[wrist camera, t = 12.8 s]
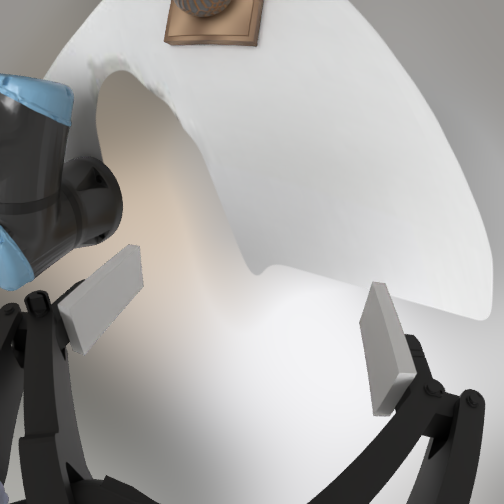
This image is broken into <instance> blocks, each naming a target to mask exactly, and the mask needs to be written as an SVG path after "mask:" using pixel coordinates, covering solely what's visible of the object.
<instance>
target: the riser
mask: <svg viewBox="0 0 504 504" xmlns="http://www.w3.org/2000/svg"><path fill="white" fill-rule="evenodd" d="M262 7H263V0H231V2H230V3H229V5H228V6H227V7H226V8H225V9H224V10H223V11H222V12H220V13H218V14H216V15H213V16H209V17H196V16H192V15H189V14H187V13H185V12H184V11H182V10H181V9H180V8H179V7H178V6H177V5H176V4H175V2H174V0H171V4H170V9H169V14H168V20H167V25H166V31H165V37H164V42H166V43H168V44H170V45H193V44H220V45H245V46H257V41H258V34H259V27H260V20H261V13H262Z"/></svg>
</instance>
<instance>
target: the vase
mask: <svg viewBox="0 0 504 504" xmlns="http://www.w3.org/2000/svg"><path fill="white" fill-rule="evenodd" d="M174 2H175V4H176V5H177V6H178V7H179V8H180V9H181V10H182V11H184V12H185V13H187V14H189V15H192V16H196V17H209V16H213V15H216V14H218V13H220V12H222V11H223V10H224V9H225V8H226V7H227V6H228V5H229V3H230V2H231V0H174Z"/></svg>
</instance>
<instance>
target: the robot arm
mask: <svg viewBox="0 0 504 504" xmlns="http://www.w3.org/2000/svg"><path fill="white" fill-rule="evenodd" d="M73 102H74V94H73V91H72V90H71V88H70V87H69V86H67V85H64V84H61V83H57V82H52V81H48V80H43V79H37V78H31V77H25V76H18V75H10V74H0V288H2V289H5V290H8V291H14V290H17V289H18V288H20V287H21V286H23V285H25V284H26V283H28V282H31V281H33V280H34V279H35V278H36V277H37V276H38V275H40V274H41V273H42V272H43V271H44V270H46V269H47V268H49V267H50V266H51V265H52V264H54V263H55V262H56V261H58V260H59V259H60V258H62V257H63V256H64V255H66V254H67V253H69V252H70V251H71V250H73V249H74V248H80V247H86V246H92V245H97V244H99V243H101V242H103V241H105V240H106V239H107V238H109V237H110V236H111V235H113V234H114V232H115V231H116V230H117V228H118V226H119V224H120V221H121V218H122V211H123V201H122V194H121V191H120V187H119V184H118V182H117V180H116V178H115V176H114V175H113V173H112V172H111V171H110V169H109V168H108V167H107V166H106V165H105V164H104V163H102V162H101V161H99V160H97V159H95V158H92V157H80V158H76V159H73V160H70V161H68V162H66V163H65V164H64V156H65V149H66V143H67V138H68V132H69V127H70V126H71V114H72V107H73ZM142 288H143V277H142V266H141V257H140V246H136V245H130V244H129V245H127V246H126V247H125V248H124V249H122V250H121V251H120V252H119V253H117V254H116V255H115V256H114V257H112V258H111V259H110V260H109V261H107V262H106V263H105V264H104V265H103V266H101V267H100V268H99V269H98V270H97V271H95V272H94V273H93V274H92V275H91V276H90V277H88V278H87V279H86V280H85V279H84V280H81V281H79V282H77V283H75V284H74V285H73V286H72V287H71V288H70V289H69V290H67V291H66V292H65V293H64V294H63V295H62V296H60V297H59V298H58V299H57V300H56V301H55V302H54V303H53V304H51V303H50V299H49V296H48V293H47V292H46V291H41V290H38V291H34V292H32V293H30V294H28V295H27V296H26V297H25V299H24V302H25V305H26V308H27V310H28V312H21V309H20V307H19V305H18V304H17V303H8V304H6V305H4V306H3V307H2V308H1V309H0V504H7V503H8V501H9V497H8V495H7V494H6V493H5V490H4V487H3V486H4V483H5V479H6V476H7V471H8V465H9V459H10V452H11V445H12V439H13V433H14V428H15V424H16V419H17V414H18V410H19V405H20V401H21V397H22V393H23V389H24V426H25V436H24V437H20V439H19V455H20V464H21V472H22V479H23V486H24V491H25V497H26V499H25V500H21V501H18V502H14V503H10V504H159V503H157V502H155V501H154V500H152V499H150V498H149V497H147V496H146V495H144V494H143V493H141V492H139V491H138V490H137V489H135V488H134V487H132V486H130V485H127V484H125V483H122V482H120V481H118V480H116V479H114V478H111V477H109V476H107V475H106V476H105V478H104V480H97V479H93V478H92V476H91V474H90V472H89V470H88V468H87V466H86V462H85V458H84V454H83V450H82V445H81V441H80V436H79V432H78V427H77V421H76V416H75V410H74V404H73V398H72V391H71V383H70V374H69V366H68V365H69V364H68V353H67V349H66V345H67V344H68V343H69V342H70V344H71V347H72V350H73V351H75V352H77V353H79V354H82V355H85V354H86V353H87V352H88V351H89V349H90V348H91V347H92V346H93V345H94V343H95V342H96V341H97V340H98V339H99V337H100V336H101V335H102V334H103V333H104V331H105V330H106V329H107V328H108V327H109V326H110V324H111V323H112V322H113V321H114V320H115V319H116V317H117V316H118V315H119V314H120V313H121V312H122V310H123V309H124V308H125V307H126V306H127V305H128V304H129V302H130V301H131V300H132V299H133V298H134V296H135V295H136V294H137V293H138V292H139V291H140V290H141V289H142ZM359 324H360V329H361V335H362V340H363V346H364V352H365V358H366V365H367V371H368V377H369V385H370V392H371V400H372V408H373V416H390V415H391V413H392V412H393V411H394V409H395V410H396V414H395V415H394V416H393V417H392V419H391V420H390V421H389V422H388V423H387V425H386V426H385V427H384V428H383V429H382V431H381V432H380V433H379V434H378V435H377V436H376V438H375V439H374V440H373V441H372V442H371V443H370V444H369V445H368V446H367V447H366V448H365V450H364V451H363V452H362V453H361V454H360V455H359V456H358V457H357V458H356V459H355V460H354V461H353V462H352V463H351V464H350V465H349V466H348V467H347V468H346V469H345V470H344V471H343V472H342V473H341V474H340V475H339V476H338V477H337V478H336V479H335V480H334V481H332V483H330V484H329V485H328V486H327V487H326V488H325V489H324V490H323V491H321V492H320V493H319V494H318V495H317V496H316V497H314V498H313V499H312V500H311V501H310V502H309V503H307V504H369V503H370V502H371V501H372V499H373V498H374V497H375V496H376V495H377V494H378V493H379V491H380V490H381V489H382V488H383V487H384V485H385V484H386V483H387V482H388V481H389V479H390V478H391V477H392V476H393V474H394V473H395V471H397V469H398V468H399V467H400V465H401V464H402V463H403V461H404V460H405V459H406V457H407V456H408V454H409V453H410V452H411V450H412V449H413V447H414V446H415V444H416V443H417V441H418V440H419V438H420V437H421V435H424V436H428V437H430V440H429V443H428V446H427V450H426V453H425V456H424V459H423V462H422V465H421V468H420V471H419V473H418V476H417V479H416V481H415V484H414V486H413V489H412V491H411V494H410V496H409V499H408V501H407V503H406V504H469V502H470V498H471V494H472V490H473V485H474V481H475V477H476V472H477V467H478V462H479V456H480V449H481V442H482V434H483V426H484V415H485V400H484V398H483V397H482V395H481V394H480V393H479V392H477V391H475V390H472V389H468V390H465V391H464V392H463V393H462V394H461V395H460V396H457V395H453V394H449V393H447V392H445V388H444V387H443V385H442V384H441V383H440V382H438V381H437V380H435V379H433V378H432V375H431V372H430V369H429V366H428V363H427V360H426V358H425V355H424V352H423V349H422V347H421V344H420V342H419V341H418V339H417V338H416V337H415V336H414V335H408V334H404V332H403V329H402V326H401V323H400V321H399V318H398V315H397V312H396V310H395V307H394V304H393V302H392V299H391V297H390V294H389V291H388V289H387V286H386V284H385V283H378V282H372V285H371V288H370V291H369V295H368V298H367V301H366V304H365V307H364V310H363V313H362V316H361V319H360V322H359ZM11 344H12V347H11Z"/></svg>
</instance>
